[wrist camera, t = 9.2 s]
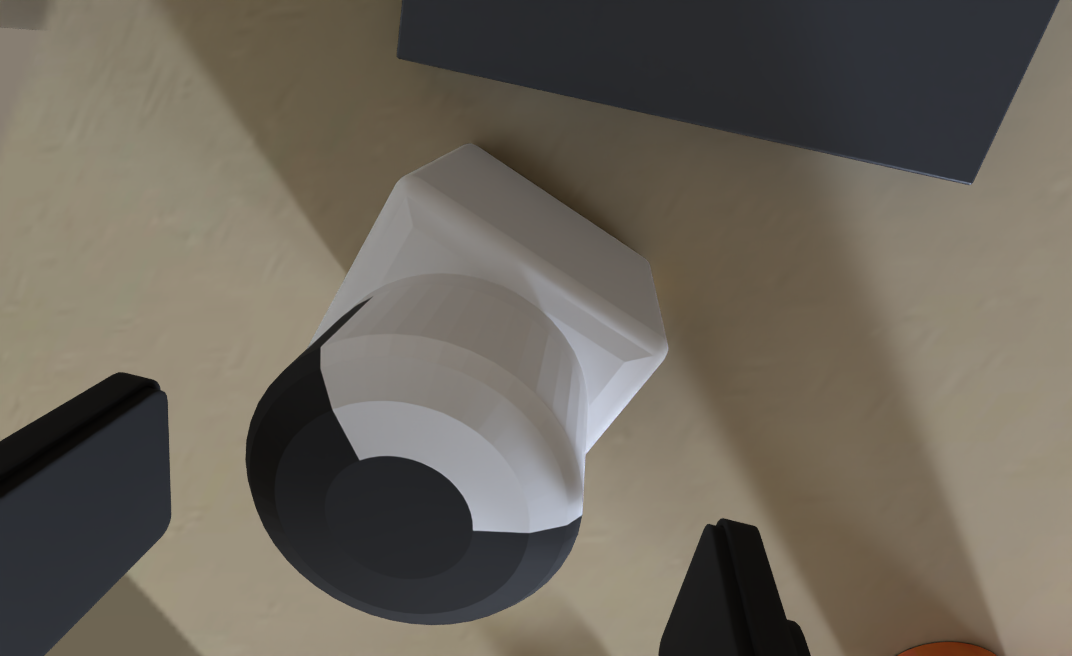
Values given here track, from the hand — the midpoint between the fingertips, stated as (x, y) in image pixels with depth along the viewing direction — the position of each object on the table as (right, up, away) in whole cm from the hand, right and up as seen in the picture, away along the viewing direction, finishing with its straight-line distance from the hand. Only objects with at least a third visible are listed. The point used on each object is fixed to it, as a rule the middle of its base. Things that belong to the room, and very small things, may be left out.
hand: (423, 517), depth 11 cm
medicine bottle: (+1, +5, +11) cm, 12 cm away
